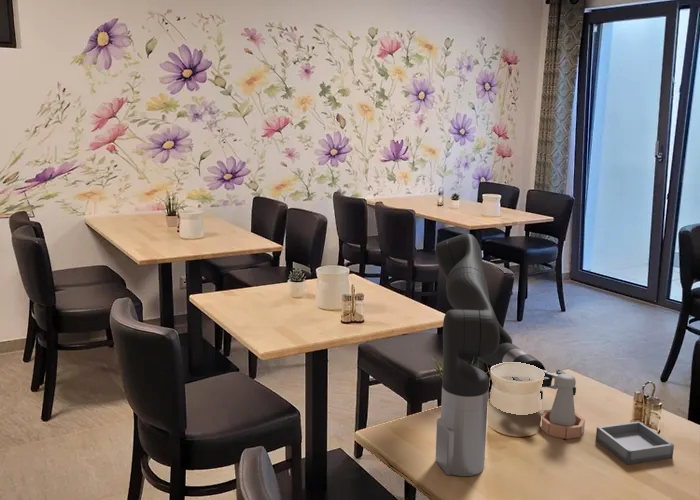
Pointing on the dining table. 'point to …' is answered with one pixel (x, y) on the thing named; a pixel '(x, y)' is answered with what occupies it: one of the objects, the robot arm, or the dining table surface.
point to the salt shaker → (564, 402)
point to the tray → (634, 442)
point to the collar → (562, 427)
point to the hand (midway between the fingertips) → (558, 393)
